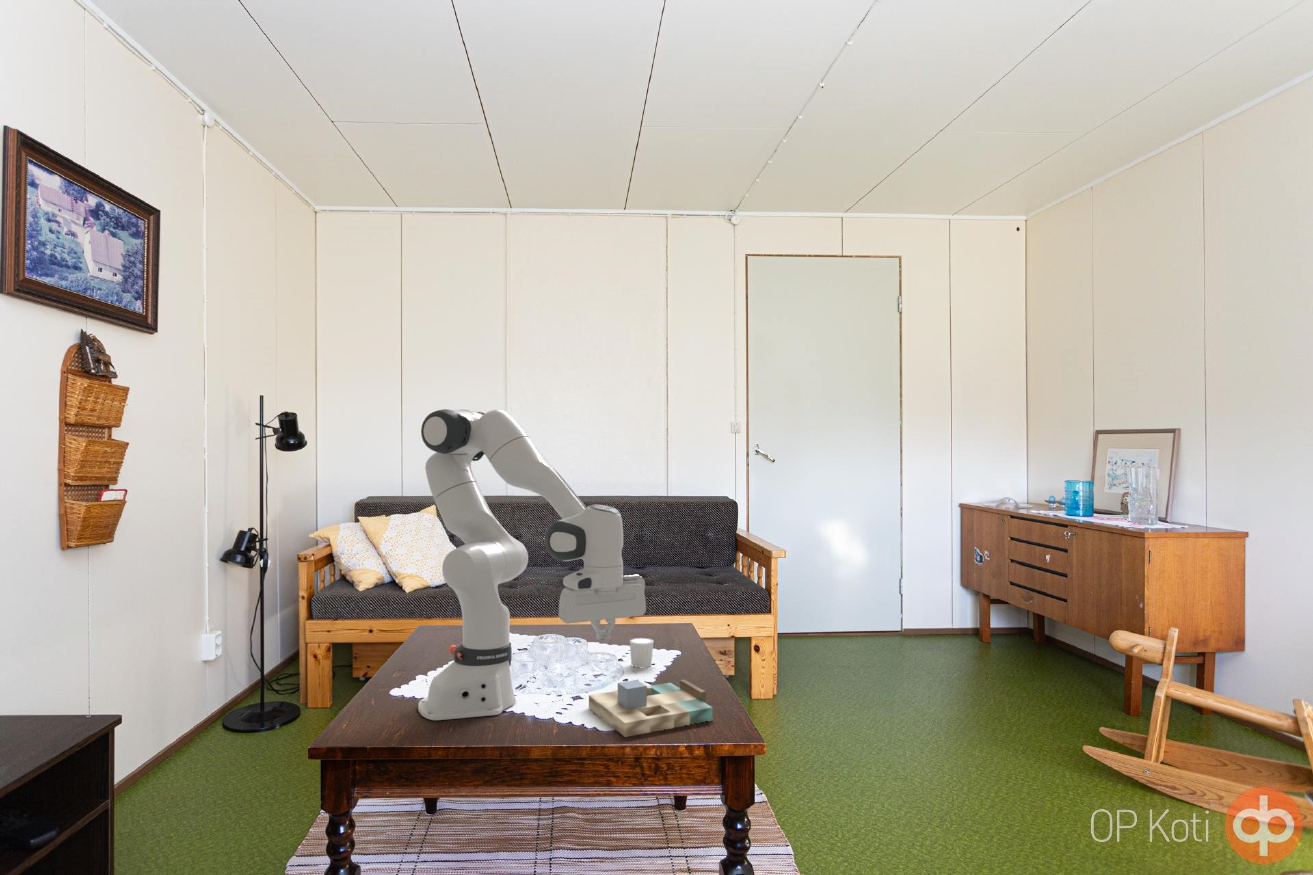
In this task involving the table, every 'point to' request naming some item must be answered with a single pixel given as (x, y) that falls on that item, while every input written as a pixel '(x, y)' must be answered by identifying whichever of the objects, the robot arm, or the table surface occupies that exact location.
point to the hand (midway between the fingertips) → (603, 638)
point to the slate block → (632, 694)
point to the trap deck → (654, 709)
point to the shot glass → (641, 652)
